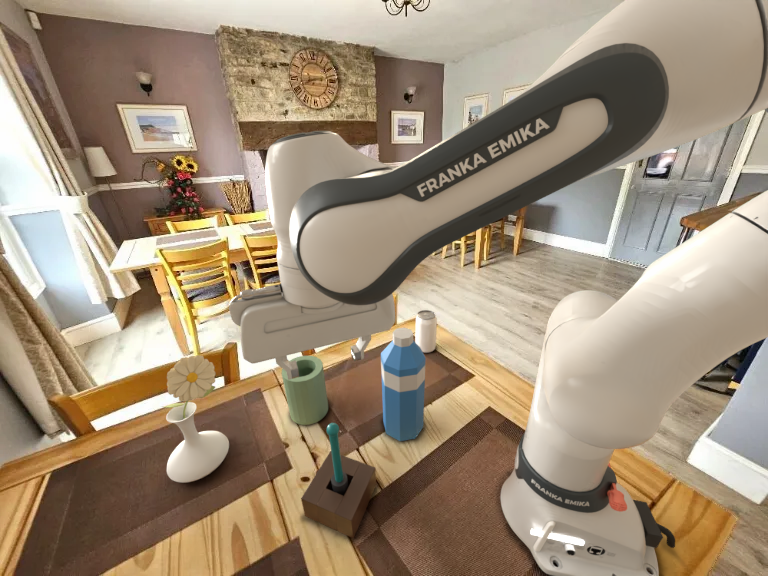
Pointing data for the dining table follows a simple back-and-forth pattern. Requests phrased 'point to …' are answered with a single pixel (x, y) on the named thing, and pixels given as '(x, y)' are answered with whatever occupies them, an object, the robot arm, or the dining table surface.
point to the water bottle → (403, 386)
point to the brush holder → (336, 507)
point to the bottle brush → (337, 461)
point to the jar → (306, 391)
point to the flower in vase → (197, 448)
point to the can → (426, 330)
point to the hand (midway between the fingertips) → (326, 366)
